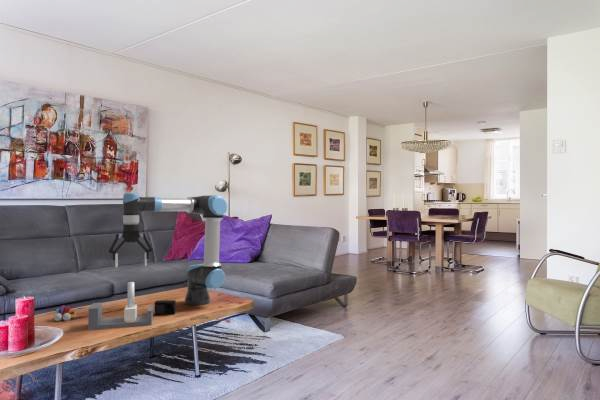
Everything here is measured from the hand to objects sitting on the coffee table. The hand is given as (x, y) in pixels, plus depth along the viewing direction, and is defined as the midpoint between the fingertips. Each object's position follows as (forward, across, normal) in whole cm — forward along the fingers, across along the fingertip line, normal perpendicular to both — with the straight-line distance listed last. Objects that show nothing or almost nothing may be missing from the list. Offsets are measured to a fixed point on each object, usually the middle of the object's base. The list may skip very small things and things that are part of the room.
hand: (131, 266), depth 205 cm
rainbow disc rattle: (+29, +34, -18) cm, 48 cm away
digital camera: (+29, -16, -13) cm, 35 cm away
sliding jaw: (+26, 0, 0) cm, 26 cm away
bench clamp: (+28, +4, 0) cm, 29 cm away
